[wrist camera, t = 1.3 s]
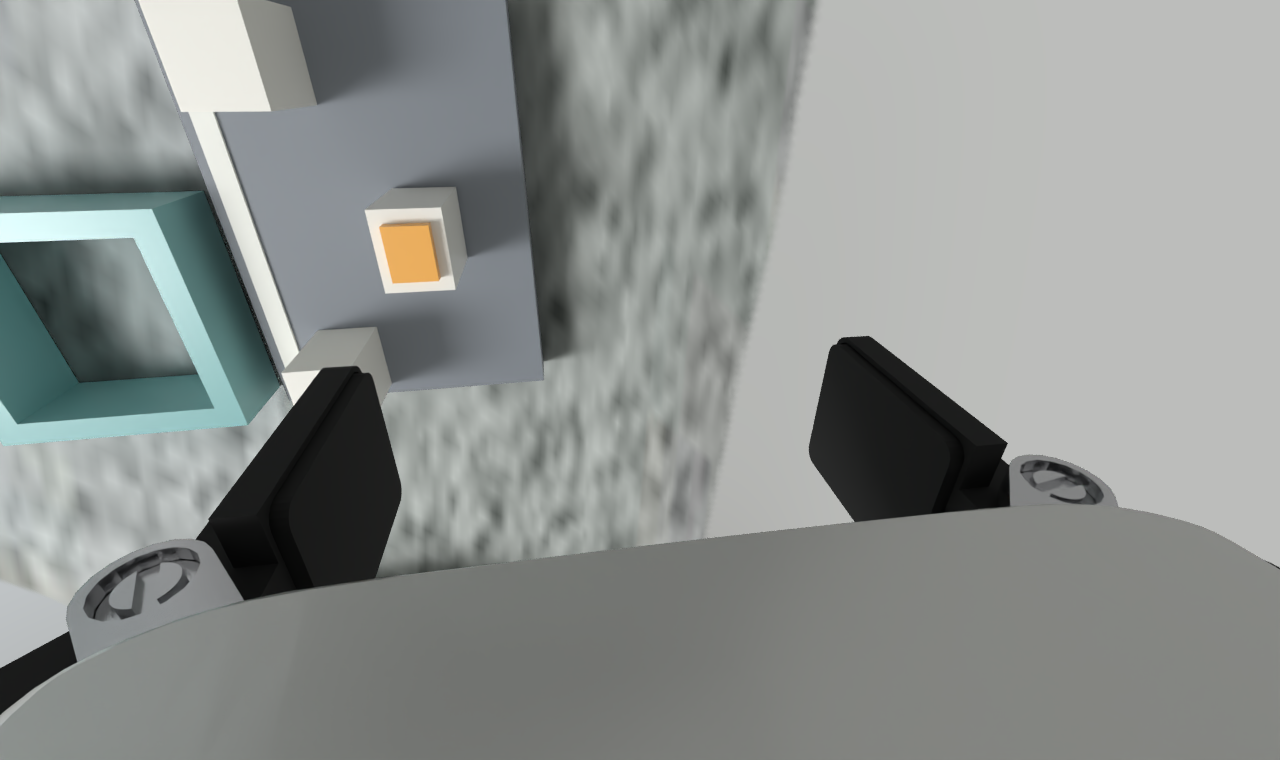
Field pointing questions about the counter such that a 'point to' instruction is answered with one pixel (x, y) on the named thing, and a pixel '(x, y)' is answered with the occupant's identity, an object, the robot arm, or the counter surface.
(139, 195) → the socket
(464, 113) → the breaker panel
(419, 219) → the block
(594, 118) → the counter surface
